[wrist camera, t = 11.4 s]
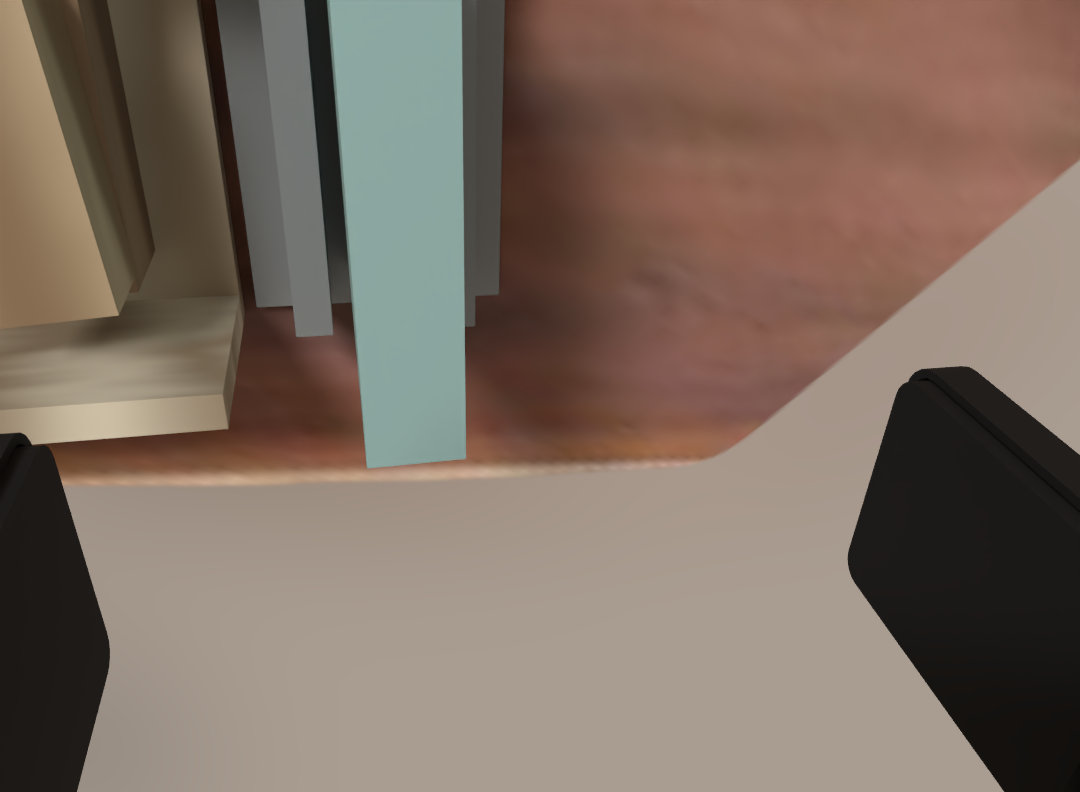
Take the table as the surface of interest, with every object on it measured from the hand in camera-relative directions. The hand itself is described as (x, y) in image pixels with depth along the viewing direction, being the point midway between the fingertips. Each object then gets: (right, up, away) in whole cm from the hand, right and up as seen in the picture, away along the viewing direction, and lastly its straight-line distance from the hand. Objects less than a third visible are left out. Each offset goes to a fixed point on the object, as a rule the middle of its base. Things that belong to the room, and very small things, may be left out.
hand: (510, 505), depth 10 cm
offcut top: (-14, +8, +14) cm, 21 cm away
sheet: (-5, +11, +19) cm, 23 cm away
